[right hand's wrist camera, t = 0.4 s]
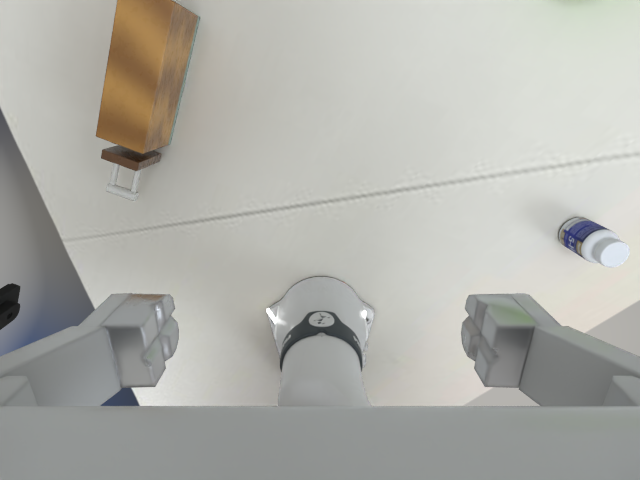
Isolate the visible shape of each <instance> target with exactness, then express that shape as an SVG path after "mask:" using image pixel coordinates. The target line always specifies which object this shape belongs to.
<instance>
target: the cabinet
mask: <svg viewBox="0 0 640 480" xmlns="http://www.w3.org/2000/svg"><path fill="white" fill-rule="evenodd" d="M199 19H200V17H199V16H197V15H195V14H194V13H192V12H190V11H189V10H187V9H186V8H184V7H182V6H181V5H179V4H177V3H176V2H174V1H172V0H118V1H117V7H116V13H115V19H114V26H113V32H112V38H111V44H110V51H109V57H108V63H107V69H106V76H105V82H104V88H103V95H102V101H101V107H100V113H99V120H98V126H97V132H96V136H97V137H99V138H102V139H105V140H107V141H110V142H113V143H115V144H118V145H121V146H123V147H126V148H129V149H131V150H134V151H137V152H139V153H142V154H143V153H146V152H149V151H152V150H155V149H158V148H160V147H163V146H166V145H170V143H171V139H172V134H173V130H174V126H175V122H176V117H177V113H178V109H179V105H180V100H181V96H182V92H183V88H184V83H185V79H186V75H187V71H188V66H189V62H190V58H191V54H192V49H193V45H194V41H195V37H196V32H197V28H198V24H199Z"/></svg>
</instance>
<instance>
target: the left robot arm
mask: <svg viewBox="0 0 640 480" xmlns="http://www.w3.org/2000/svg"><path fill="white" fill-rule="evenodd" d="M19 292H20V286H18V285H16V284H13V283H12V284H8V285H6V286H4V287H3V288H1V289H0V330H1V329H2V328H3V327H5V326H6V325H7V324H9V323H10V322H11V321H13V320H14V319H15V318H16V316H17V315H18V313H19V309H20V304H19V303H18V298H19Z"/></svg>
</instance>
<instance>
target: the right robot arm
mask: <svg viewBox="0 0 640 480" xmlns="http://www.w3.org/2000/svg"><path fill="white" fill-rule="evenodd" d="M174 309H175V306H174V301H173V298H172V296H171V295H170V294H132V293H123V294H111V295H110V296H109V297H108V298H107V299H106V300H105V301H104V302H103V303H102V304H101V305H100V306H99V307H98V308H97V309H96V310H95V311H94V312H93V313H91V314H90V315H89V316H88V317H87V318H86V319H85V320H84V321H83V322H82V323H81V324H80V325H79V326H72V327H69V328H67V329H64V330H62V331H60V332H57V333H55V334H53V335H50V336H48V337H46V338H43V339H41V340H38V341H36V342H34V343H31V344H29V345H27V346H24V347H22V348H19V349H17V350H15V351H12V352H10V353H8V354H5V355H3V356H1V357H0V480H640V357H639V356H637V355H635V354H632V353H630V352H627V351H625V350H623V349H620V348H618V347H616V346H613V345H611V344H608V343H606V342H604V341H601V340H599V339H597V338H594V337H592V336H590V335H587V334H585V333H583V332H580V331H578V330H576V329H573V328H571V327H568V326H561V325H560V324H559V323H558V322H557V321H556V320H555V319H554V318H553V317H552V316H551V315H550V314H549V313H548V312H547V311H546V310H544V309H543V308H542V307H541V306H540V305H539V304H538V303H537V302H536V301H535V300H534V299H533V298H532V297H531V296H530V295H528V294H525V293H517V294H477V295H469V296H468V298H467V300H466V305H465V309H466V311H467V313H468V314H469V316H468V317H467V318H466V319H465V320H464V321H463V323H462V330H461V337H462V344H463V348H464V351H465V352H466V354H467V356H468V357H469V358H471V359H472V360H474V361H475V367H474V369H475V370H476V372H477V374H478V376H479V377H480V379H481V381H482V383H483V384H484V386H485V387H511V388H519V390H520V391H522V392H523V393H524V394H526V395H527V396H528V397H530V398H531V399H532V400H534V401H535V402H536V403H537V404H539V405H540V406H372V405H371V403H370V402H369V400H368V397H367V394H366V390H365V387H364V383H363V378H362V373H361V372H362V368H363V367H365V364H366V355H365V354H363V352H364V351H367V349H368V343H366V342H367V339H368V335H369V332H370V329H371V325H372V322H373V319H374V309H373V308H372V307H371V306H369V305H368V304H366V303H364V302H363V301H361V300H360V298H359V297H358V296H357V294H356V293H355V292H354V290H353V289H352V288H351V287H349V286H348V285H347V284H345V283H344V282H342V281H340V280H337V279H334V278H330V277H312V278H308V279H305V280H303V281H300V282H299V283H297V284H295V285H294V286H293V287H292V288H290V289H289V290H288V292H287V293H286V294H285V296H284V297H283V298H282V299H281V300H280V301H279V302H277V303H275V304H274V305H272V306H271V307H270V308H268V309H267V313H268V318H269V322H270V325H271V329H272V332H273V336H274V339H275V343H276V346H277V350H278V353H279V357H280V369H281V380H280V388H279V396H278V406H100V405H101V404H103V403H104V402H105V401H107V400H108V399H109V398H111V397H112V396H113V395H114V394H116V393H117V392H118V391H120V390H121V388H129V387H155V386H156V385H157V383H158V381H159V379H160V378H161V376H162V374H163V372H164V370H165V369H166V367H165V361H166V360H168V359H169V358H171V357H172V356H173V354H174V352H175V350H176V348H177V344H178V339H179V329H178V323H177V321H176V320H175V319H174V318H173V317H172V316H171V314H172V313H173V311H174ZM366 318H368V319H367V320H366Z"/></svg>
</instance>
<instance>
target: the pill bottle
mask: <svg viewBox="0 0 640 480" xmlns="http://www.w3.org/2000/svg"><path fill="white" fill-rule="evenodd" d="M559 239H560V242H561V243H562V244H563V245H564V246H565V247H567V248H569V249H570V250H572V251H573V252H575V253H576V254H578V255H579V256H581V257H583V258H584V259H586V260H587V261H589V262H592V263H600V264H602V265H604V266H606V267H616V266H619V265H621V264H622V263H623V262H625V260H626V259H627V258H628V256H629V253H630V250H629V247H628V245H627V244H626V243H624V242H622V241H620V239H619V237H618V236H617V234H616V233H614V232H613V231H611V230H609V229H607V228H605V227H603V226H601V225H599V224H596V223H594V222H592V221H590V220H588V219H586V218H582V217H578V218H573V219H571V220H569V221H567V222H566V223H565V224H564V225H563V226H562V228H561V230H560V232H559Z"/></svg>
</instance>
